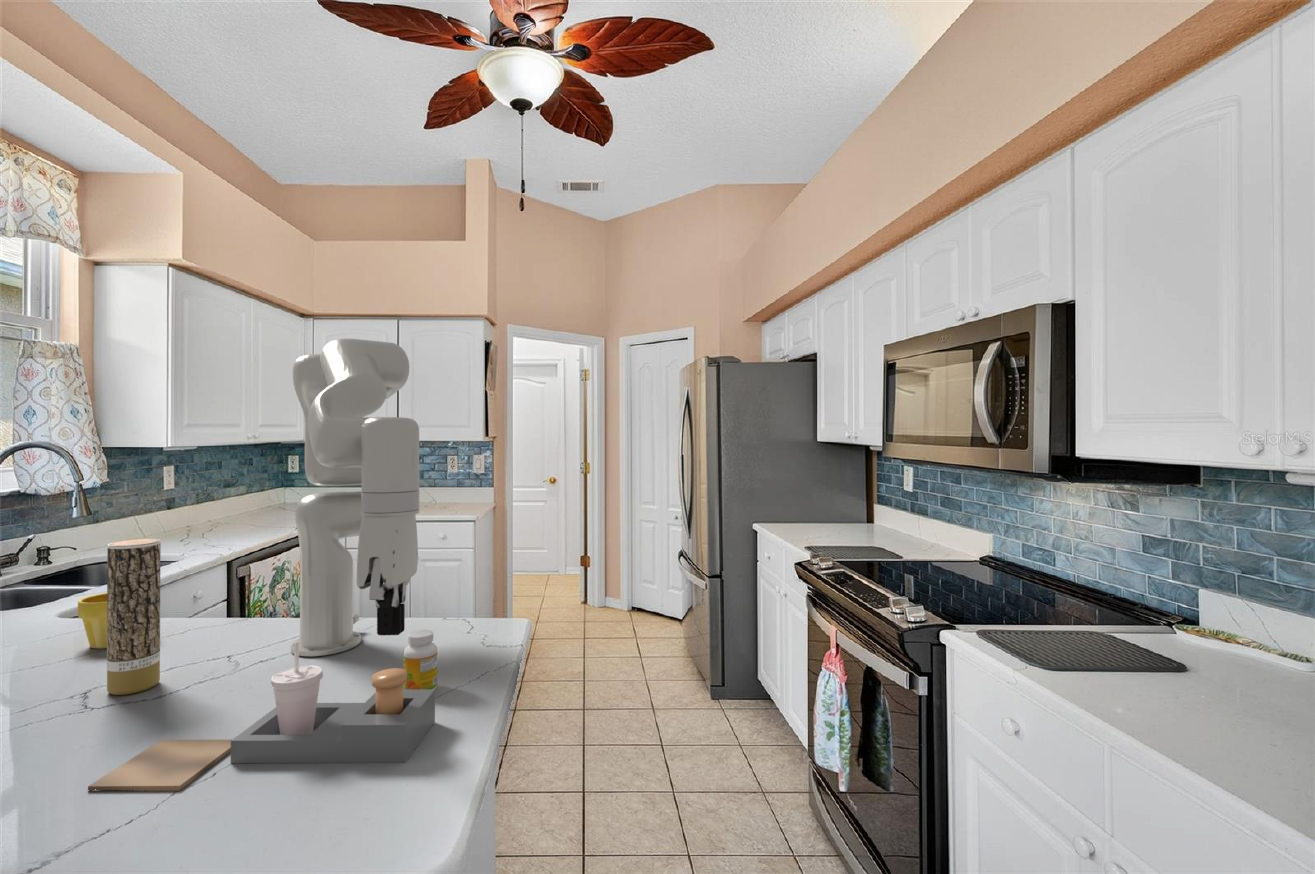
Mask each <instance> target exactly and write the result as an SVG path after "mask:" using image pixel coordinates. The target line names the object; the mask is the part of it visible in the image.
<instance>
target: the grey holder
mask: <svg viewBox="0 0 1315 874" xmlns="http://www.w3.org/2000/svg"><path fill="white" fill-rule="evenodd" d="M435 718H436V689H407V690H403V711H402V713H401V714H376V692H374V693H372V695H371V696H370V698H368V699H367V700H366V701H364V702H317V707H316V714H315V721H314V728H313V732H312V733H311V734H310V735H280V730H279V723H278V716H277V709H276V707H274V708H273V709H271V710H270V711H269V712H267V713H266V714H265V715H263V716H262V717H261V718H259V719H258V720H257V721H255V722H254V723H253V724H251V725H250V726H249V727H247V728H246V729H244V730H243V731H242V732H240V733H239V734H238V735H236V736H235V737H234V738H233V739H232V738H231V739H232V740H231V752H230V764H308V763H309V764H312V763H313V764H314V763H315V764H322V763H323V764H328V763H329V764H330V763H331V764H334V763H335V764H336V763H337V764H340V763H341V764H343V763H346V764H347V763H349V764H350V763H351V764H352V763H355V764H357V763H363V764H364V763H365V764H366V763H407V761H408V760H409V758H410V757H411V756H412V754H413V753H414V752H415V750H416V749H417V747H418V746H419V745H420V743H421V742H422V741H423V739H424V738H425V736H426V735H427V734H428V732H429V731H430V730H431V728H432V726H433V725H434V724H435V723H436V719H435ZM315 728H316V729H315Z"/></svg>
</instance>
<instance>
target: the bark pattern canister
mask: <svg viewBox="0 0 1315 874" xmlns="http://www.w3.org/2000/svg"><path fill="white" fill-rule="evenodd" d="M161 546H162V545H161V539H160V538H159V539H158V538H138V539H137V538H136V539H127V540H120V541H119V540H118V541H115V542H109V543H108V544H107V549H106V550H107V551H106V553H107V555H106V556H107V560H106V561H107V564H106V565H107V567H106V570H107V574H106V576H107V578H106V579H107V581H106V582H107V583H106V584H107V585H106V586H107V587H106V590H107V591H106V593H107V648H106V689H107V690H106V691H107V692H108V694H110V695H113V696H126V695H131V694H138V693H140V692H143V691H144V692H145V691H146V690H149V689H151V688H154V687H155V686H156V685H158V683H159V682H160V680H161V679H160V677H161V676H160V675H161V674H160V673H161V671H160V670H161V554H162V553H161Z"/></svg>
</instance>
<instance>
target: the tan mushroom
mask: <svg viewBox="0 0 1315 874" xmlns="http://www.w3.org/2000/svg"><path fill="white" fill-rule="evenodd" d="M406 681H407V671H406V670H405V669H404V668H398V667H395V668H394V667H393V668H387V669H383V670H382V669H381V670H379V671H377V672H375V673H374V674H373V675H371V686H372V687H373V688H375V693H376V714H401V713H402V711H403V683H405V682H406Z"/></svg>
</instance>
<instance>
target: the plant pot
mask: <svg viewBox="0 0 1315 874" xmlns="http://www.w3.org/2000/svg"><path fill="white" fill-rule="evenodd" d="M77 616H78V618H79V619H81V620H82V622H83V627H84V630H85V633H86V637H87V641H88V645H89V648H92V649H98V650H99V649H107V592H104V593H103V592H102V593H98V594H94V595H90V596H89V595H88V596H86V597H83V598H80V599H79V600H78V601H77Z"/></svg>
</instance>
